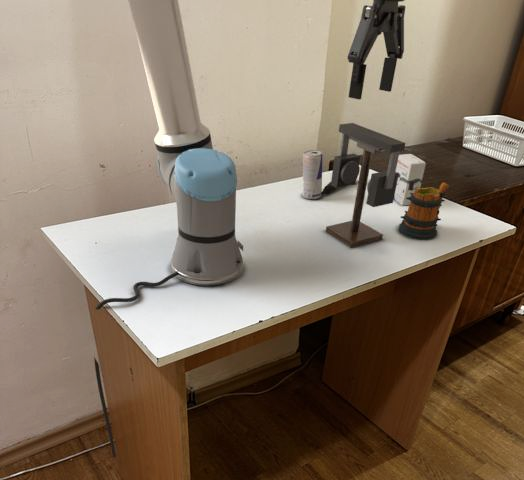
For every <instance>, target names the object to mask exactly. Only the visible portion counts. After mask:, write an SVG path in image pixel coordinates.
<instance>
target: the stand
mask: <svg viewBox="0 0 524 480" xmlns="http://www.w3.org/2000/svg"><path fill="white" fill-rule="evenodd" d="M356 147H357V148H359V149H362V150H363V152H362V157H361V162H360V163H361V164H360V171H359V175H358V182H357V188H356V193H355V200H354V206H353V213H352V217H351V220H348V221H345V222H340V223H336V224H332V225H326V227H325V233H326V234H329V235H330V236H331V237H334V238H335V239H336V240H338V241H340V242H341V243H343V244H344V245H345V246H347V247H349V248H355V247H359V246H363V245H368V244H370V243H373V242H374V243H375V242H378V241H382V240H383V237H384V234H383V233H382V232H379V231H378V230H376V229H375V228H372V227H370V226H369V225H367V224H366V223H364V222H362V221H361V219H362V213H363V207H364V203H365V202H364V201H365V196H366V190H367V186H368V180H369V175H370V168H371V164H372V163H371V162H372V157H373V154H374V155H377V154H381V152H382V151H377V150H375V149H372V148H370V147H368V146H365V145H363V144H360V143H358V142H356Z"/></svg>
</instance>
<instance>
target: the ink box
mask: <svg viewBox="0 0 524 480" xmlns="http://www.w3.org/2000/svg"><path fill="white" fill-rule="evenodd" d="M426 165H427V163H426V162H425V161H424V160H423V159H421V158H419V157H417V156H416V155H414V154H412V153H405V154H404V153H403V154H399V157H398V162H397V167H396V172H397V173H399V176H398V181H397V185H396V190H395V195H394V199H393V201H394V200H395V202H397V203H398V204H400V205H401V206H410V203H411V201H410V200H408V199H406V198H407V197H411V194H410V193H414V191H415V189H416V188H417V189H418V188H421V186H422V181H423V177H424V173H425V169H426Z"/></svg>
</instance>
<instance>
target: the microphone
mask: <svg viewBox="0 0 524 480" xmlns="http://www.w3.org/2000/svg"><path fill="white" fill-rule="evenodd" d="M337 189H338V188H336V187H334V186H332V185H331V181H329V183H327V184H326V185H325V186H324V187H323V188H322V195H321V196H320V197H319V198H321V197H322V196H325V195H329V194H331V193H333V192H334V191H335V190H337Z"/></svg>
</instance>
